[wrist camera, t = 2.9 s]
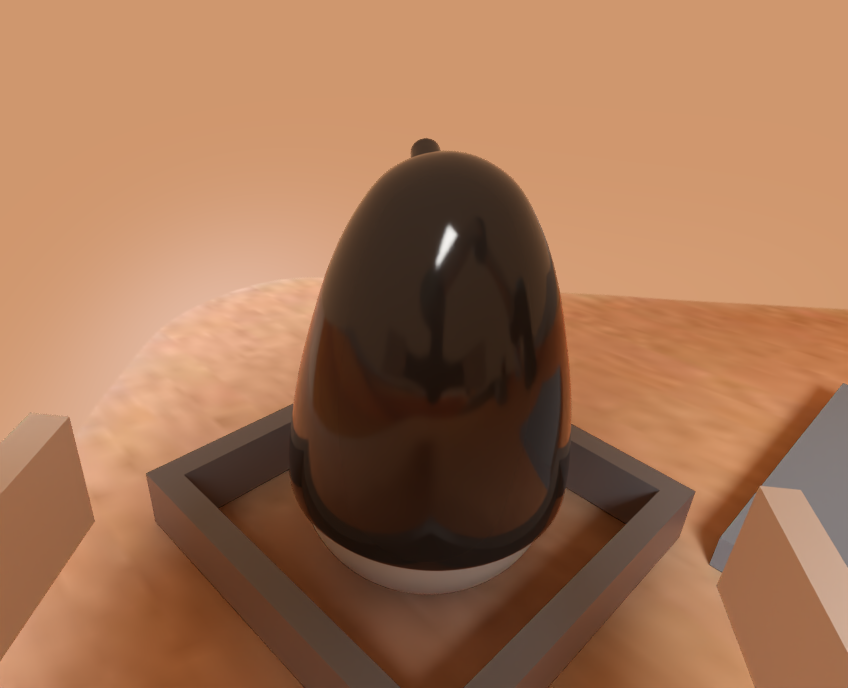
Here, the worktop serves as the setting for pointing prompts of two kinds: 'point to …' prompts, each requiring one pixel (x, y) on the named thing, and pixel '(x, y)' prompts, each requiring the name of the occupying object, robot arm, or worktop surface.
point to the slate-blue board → (811, 477)
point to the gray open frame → (324, 641)
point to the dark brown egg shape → (434, 381)
